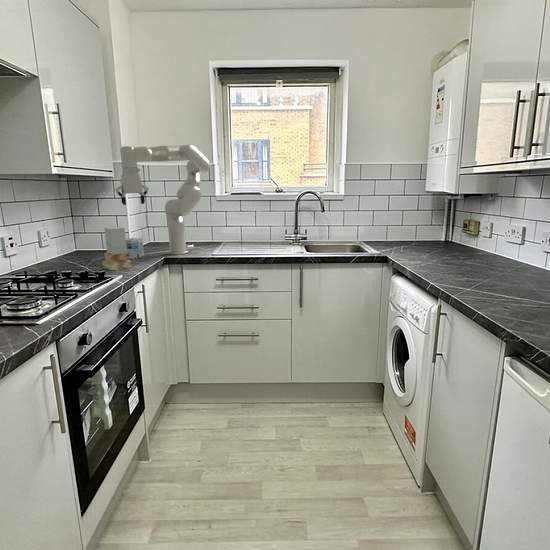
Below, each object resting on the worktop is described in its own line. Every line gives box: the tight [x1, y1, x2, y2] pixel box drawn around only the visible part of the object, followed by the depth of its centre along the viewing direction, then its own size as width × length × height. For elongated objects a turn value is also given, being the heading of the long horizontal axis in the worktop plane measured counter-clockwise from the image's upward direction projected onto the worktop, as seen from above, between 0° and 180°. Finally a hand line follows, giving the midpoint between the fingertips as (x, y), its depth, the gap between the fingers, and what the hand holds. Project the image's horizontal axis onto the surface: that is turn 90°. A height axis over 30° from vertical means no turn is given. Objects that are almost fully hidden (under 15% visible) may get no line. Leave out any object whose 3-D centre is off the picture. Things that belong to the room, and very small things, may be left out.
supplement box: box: [104, 226, 127, 255], centre depth 191 cm, size 7×7×13 cm
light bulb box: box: [126, 237, 145, 260], centre depth 220 cm, size 11×7×11 cm, turn 168°
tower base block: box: [102, 259, 133, 271], centre depth 194 cm, size 10×10×4 cm
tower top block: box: [103, 252, 128, 264], centre depth 193 cm, size 9×9×4 cm
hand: (133, 204), depth 207 cm, fingers open, 9 cm apart
